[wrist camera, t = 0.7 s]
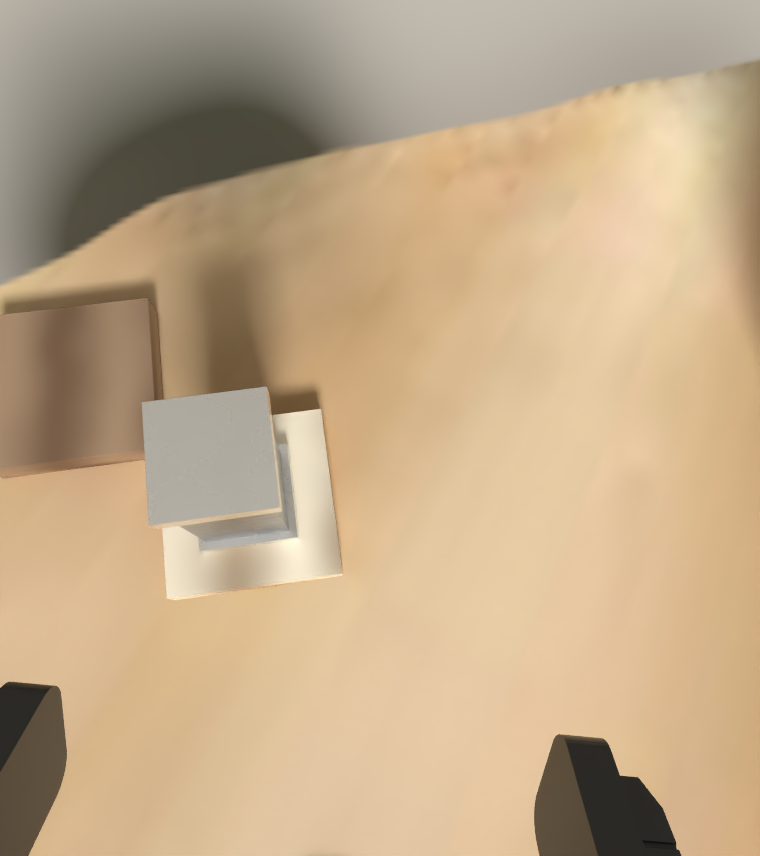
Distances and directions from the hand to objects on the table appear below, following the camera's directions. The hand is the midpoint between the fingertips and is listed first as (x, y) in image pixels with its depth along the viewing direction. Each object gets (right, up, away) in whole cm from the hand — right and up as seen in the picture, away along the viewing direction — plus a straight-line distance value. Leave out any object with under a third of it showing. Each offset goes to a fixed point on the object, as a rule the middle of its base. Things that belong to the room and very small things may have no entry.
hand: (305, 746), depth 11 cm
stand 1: (-16, +7, +29) cm, 34 cm away
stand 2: (-6, +1, +28) cm, 28 cm away
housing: (-6, +1, +26) cm, 26 cm away
